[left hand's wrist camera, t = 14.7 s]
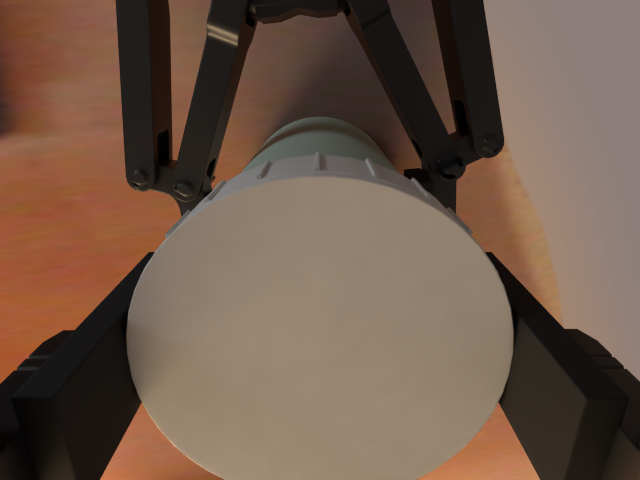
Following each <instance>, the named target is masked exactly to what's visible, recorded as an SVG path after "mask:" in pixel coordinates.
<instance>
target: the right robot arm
mask: <svg viewBox="0 0 640 480" xmlns="http://www.w3.org/2000/svg"><path fill="white" fill-rule="evenodd" d="M431 1H432V6H433V11H434V17H435V22H436V27H437V33H438V38H439V43H440V48H441V54H442V59H443V64H444V69H445V75H446V80H447V85H448V90H449V96H450V101H451V106H452V112H453V117H454V122H455V127H456V132H454V133H451V134H448V132H447V130H446V128H445V126H444V124H443V122H442V120H441V118H440V115H439V113H438V111H437V109H436V107H435V105H434V103H433V101H432V99H431V97H430V95H429V93H428V91H427V88H426V86H425V84H424V82H423V80H422V78H421V76H420V74H419V72H418V70H417V68H416V66H415V63H414V61H413V59H412V57H411V55H410V53H409V51H408V49H407V47H406V45H405V43H404V41H403V38H402V36H401V34H400V32H399V30H398V28H397V26H396V24H395V22H394V20H393V18H392V15H391V12H390V8H389V4H388V2H387V0H212V2H211V6H210V10H209V15H208V20H207V38H206V42H205V47H204V51H203V55H202V59H201V63H200V67H199V72H198V76H197V80H196V84H195V88H194V93H193V97H192V101H191V105H190V109H189V113H188V118H187V122H186V126H185V130H184V134H183V139H182V143H181V147H180V151H179V155H178V159H177V161H176V160H173V158H172V104H171V50H170V13H169V4H168V0H116V13H117V30H118V47H119V64H120V81H121V99H122V116H123V133H124V150H125V167H126V178H127V182H128V183H129V185H130V186H131V187H132V188H133V189H135V190H137V191H141V192H142V191H147V190H153V191H157V192H161V193H165V194H168V195H170V196H171V197H173V198H174V199H175V200H176V202H177V203H178V205H179V208H180V212H181V216H183V215H184V214H185V213H186V212H187V211H188V210H189V211H190V212H192V210H193V209H194V208H195V207H196V206H197V205H198V204H199V203H200V202H201V201H202V200H203V199H204V198H205V197H207V196H208V195H209V194H210V193H211V192H212V191H213V190H212V187H211V183H212V182H213V181H214V179H215V176H213V175H214V172H215V168H216V164H217V161H218V157H219V153H220V150H221V146H222V142H223V139H224V135H225V131H226V128H227V124H228V120H229V117H230V113H231V109H232V106H233V102H234V98H235V95H236V91H237V87H238V84H239V80H240V76H241V73H242V69H243V65H244V62H245V58H246V54H247V51H248V48H249V46H250V44H251V42H252V39H253V36H254V32H255V28H256V25H257V21H260V22H262V23H263V24H268V23H277V22H282V21H285V20H287V19H289V18H292V17H294V16H297V15H306V16H311V17H316V18H322V17H331V16H337V13H339V12H342V11H343V13H344V15H345V17H346V19H347V21H348V23H349V25H350V27H351V28H352V30H353V32H354V33H355V35H356V36H357V38H358V40H359V41H360V43H361V45H362V47H363V49H364V51H365V53H366V55H367V57H368V59H369V61H370V63H371V65H372V67H373V69H374V71H375V72H376V74H377V76H378V78H379V80H380V82H381V84H382V86H383V88H384V90H385V92H386V94H387V96H388V98H389V100H390V102H391V104H392V106H393V107H394V109H395V111H396V113H397V115H398V117H399V119H400V121H401V123H402V125H403V127H404V129H405V131H406V133H407V135H408V137H409V139H410V141H411V142H412V144H413V146H414V148H415V150H416V152H417V154H418V156H419V158H420V160H421V161H422V170H421V169H420V168H416V169H406V170H404V176H405V177H406V178H408V179H410V180H411V179H412V177H413V178H415V179H416V180H417V181H418V182H419V183H420V185H421V186H422V187H423V188H424V189H425V190H426V191H427V192H429V193H430V194H431V195H432V196H434V197H435V198H436V199H437V200H438V201H439V202H440V203H441V204H442V205H443V206H444V207H445V208H446V209H447V208H448V207H450V208H451V209H452V211H453V212H454V213H455V214H456V181H457V179H459V178H460V177H461V176H462V175H463V173H464V172H465V168H466V165H468V164H470V163H472V162H474V161H476V160H479V159H481V158H483V157H484V158H492V157H494V156H496V155H497V154H498V153H499V152H500V151H501V150H502V148H503V146H504V135H503V129H502V122H501V115H500V109H499V102H498V96H497V89H496V82H495V76H494V69H493V63H492V56H491V49H490V43H489V36H488V30H487V23H486V17H485V10H484V3H483V0H431Z"/></svg>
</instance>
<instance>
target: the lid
mask: <svg viewBox="0 0 640 480" xmlns="http://www.w3.org/2000/svg"><path fill="white" fill-rule="evenodd" d="M471 233H472V230H471V229H470V228H469V227H468V226H467V225H466V224H465V223H464V222H463V221H462V220H461V219H460V218H459V217H458V216H457V215H456V214H455V213H454V212H453V211H452V209H451V208H450V207H448V208H447V209H446V208H445V207H444V206H443V205H442V204H441V203H440V202H439V201H438V200H437V199H436V198H435V197H434V196H432V195H431V194H430V193H429V192H427V191H426V190H425V189H424V188H423V187H422V186H421V185H420V183H419V182H418V181H417V180H416V179H415V178H413V177H412V179H411V180H410V179H408V178H406V177H405V176H403V175H401V174H400V173H397V172H395V171H393V170H390V169H388V168H385V167H383V166H380V165H378V164H375V163H372V161H371V160H370V159H368V158H366V161H363V160H359V159H355V158H348V157H340V156H332V155H320V152H316V153H315V155H307V156H299V157H292V158H285V159H280V160H277V161H273V162H270V161H269V160H265V162H264V163H263V164H262V165H259V166H257V167H255V168H252V169H250V170H248V171H245V172H243V173H241V174H238V175H237V176H235V177H233V178H232V179H230V180H228V181H227V182H225V180H222V181H221V182H220V183H219V184H218V185H217V186H216V187H215V188H214V189H213V191H212V192H211V193H210V194H209V195H208V196H207V197H205V198H204V199H203V200H202V201H201V202H200V203H199V204H198V205H197V206H196V207H195V208H194V209H193V210H192V212H190V211H189V210H188V211H187V212H186V213H185V214H184V215H183V216H182V217H181V218H180V219H179V220H178V221H177V222H176V223H175V224H174V225H173V226H172V228H171V229H170V230H169V231H168V232H167V233H166V234H165V235H164V236H165V237H166V238H167V239H166V240H165V241H164V242H163V243H162V244H161V245H160V246H159V247H158V249H157V250H156V252H155V253H154V255H153V256H152V258H151V259H150V261H149V262H148V264H147V265H146V267H145V268H144V270H143V272H142V274H141V276H140V279H139V281H138V283H137V285H136V288H135V290H134V294H133V297H132V301H131V304H130V308H129V312H128V321H127V330H126V343H127V355H128V360H129V365H130V370H131V375H132V379H133V382H134V385H135V387H136V390H137V393H138V396H139V398H140V399H141V401H142V403H143V405H144V407H145V409H146V411H147V412H148V414H149V416H150V417H151V418H152V420H153V421H154V423H155V424H156V425H157V427H158V428H159V429H160V431H161V432H162V433H163V434H164V435H165V436H166V437H167V438H168V439H169V440H170V442H171V443H172V444H173V445H174V446H175V447H176V448H178V449H179V450H180V451H181V452H182V453H184V454H185V455H186V456H187V457H188V458H189V459H191V460H192V461H194V462H195V463H197V464H198V465H200V466H201V467H203V468H204V469H206V470H207V471H209V472H211V473H212V474H214V475H216V476H218V477H220V478H222V479H224V480H416V479H418V478H420V477H422V476H424V475H426V474H427V473H429V472H431V471H433V470H435V469H436V468H438V467H439V466H440V465H442V464H443V463H445V462H446V461H448V460H449V459H451V458H452V457H453V456H454V455H455V454H457V453H458V452H459V451H460V450H461V449H462V448H463V447H465V446H466V445H467V444H468V443H469V442H470V441H471V440H472V438H473V437H474V436H475V435H476V434H477V433H478V432H479V431H480V430H481V428H482V427H483V426H484V424H485V423H486V421H487V420H488V418H489V417H490V415H491V414H492V413H493V411H494V409H495V407H496V405H497V403H498V401H499V399H500V397H501V395H502V393H503V391H504V388H505V385H506V382H507V379H508V376H509V372H510V366H511V361H512V356H513V344H514V328H513V320H512V313H511V307H510V304H509V300H508V297H507V294H506V291H505V287H504V285H503V283H502V281H501V279H500V277H499V275H498V274H499V273H498V271H497V270H496V269H495V266H494V265H493V263H492V262H491V260H490V259H489V258H488V256H487V255H486V253H485V252H484V250H483V249H482V248H481V246H480V245H479V244H478V243H477V242H476V241H475V239H474V238H473V237H472V236H471V235H470V234H471Z"/></svg>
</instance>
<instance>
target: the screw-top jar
mask: <svg viewBox="0 0 640 480" xmlns="http://www.w3.org/2000/svg"><path fill="white" fill-rule="evenodd" d="M316 152H320V155H332V156H340V157H348V158H355V159H359V160H363V161H366V158H368V159H370V160H371V161H372V163H375V164H378V165H380V166H383V167H385V168H388V169H390V170H393V171H395V172H397V173H398V171H397V170H396V169H395V167H394V166H393V165H392V164H391V162H390V161H389V160H388V159H387V157H386V156H385V155H384V153H383V152H382V151H381V150H380V148H379V147H378V146H377V145H376V143H375V142H374V141H373V140H372V139H371V138H370V137H369V136H368V135H367V134H366V133H365V132H363V131H362V130H361V129H359V128H358V127H356V126H354V125H353V124H351V123H348V122H346V121H343V120H340V119H336V118H331V117H309V118H304V119H300V120H297V121H294V122H292V123H289V124H287V125H285V126H284V127H282V128H281V129H279V130H278V131H276V132H275V133H274V134H273V135H272V136H271V137H270V138H269V139H268V140H267V141H266V142H265V143H264V144H263V146H262V147H261V148H260V149H259V151H258V152H257V153H256V155H255V156H254V157H253V158H252V160H251V161H250V162H249V163H248V165H247V166H246V167H245V169H244V170H243V171H242V172H241V173H243V172H245V171H248V170H250V169H252V168H255V167H257V166H259V165H262V164H263V163H264V162H265V160H269V161H270V162H273V161H277V160H280V159H285V158H292V157H299V156H307V155H315V153H316Z"/></svg>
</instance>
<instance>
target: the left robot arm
mask: <svg viewBox="0 0 640 480" xmlns="http://www.w3.org/2000/svg"><path fill="white" fill-rule="evenodd" d="M154 253H155V252H149V253H148V254H147V255H146V256H145V257H144V258H143V259H142V260H141V261H140V262H139V263H138V264H137V265H136V266H135V267H134V268H133V270H132V271H131V272H130V273H129V274H128V275H127V276H126V277H125V278H124V279H123V280H122V281H121V282H120V283H119V284H118V285H117V286H116V287H115V288H114V289H113V291H112V292H111V293H110V294H109V295H108V296H107V297H106V298H105V299H104V300H103V301H102V302H101V303H100V304H99V305H98V306H97V307H96V308H95V309H94V310H93V312H92V313H91V314H90V315H89V316H88V317H87V318H86V319H85V320H84V321H83V322H82V323H81V324H80V325H79V326H78V327H77V328H76V329H75V330H63V331H62V332H60V333H58V334H56V335H55V336H53V337H51V338H50V339H48V340H46V341H44V342H43V343H42V344H41V345H40V346H39V347H38V348H37V349H36V350H35V351H34V352H33V353H32V354H31V355H30V356H29V359H25V360H24V361H23V362H22V363H21V364H20V365H19V366H18V367H17V371H13V372H12V373H11V374H10V375H9V376H8V377H7V378H6V379H5V380H4V381H3V382H2V383H1V384H0V480H100V478H101V477H102V475H103V473H104V471H105V469H106V467H107V465H108V464H109V462H110V460H111V458H112V456H113V454H114V453H115V451H116V449H117V447H118V445H119V443H120V441H121V440H122V438H123V436H124V434H125V432H126V430H127V428H128V427H129V425H130V423H131V421H132V419H133V417H134V416H135V414H136V412H137V410H138V408H139V406H140V404H141V403H142V401H141V399H140V398H139V396H138V393H137V390H136V387H135V385H134V382H133V379H132V375H131V370H130V365H129V360H128V355H127V343H126V330H127V321H128V312H129V308H130V304H131V301H132V297H133V294H134V290H135V288H136V285H137V283H138V281H139V279H140V276H141V274H142V272H143V270H144V268H145V267H146V265H147V264H148V262H149V261H150V259H151V258H152V256H153V255H154ZM485 253H486V255H487V256H488V258H489V259H490V260H491V262H492V263H493V265H494V266H495V269H496V270H497V271H498V273H499V274H498V275H499V277H500V279H501V281H502V283H503V285H504V287H505V291H506V294H507V297H508V300H509V304H510V307H511V313H512V320H513V328H514V344H513V356H512V361H511V366H510V372H509V376H508V379H507V382H506V385H505V388H504V391H503V393H502V395H501V397H500V399H499V401H498V402H499V404H500V406H501V408H502V410H503V411H504V413H505V415H506V417H507V419H508V421H509V422H510V424H511V426H512V428H513V430H514V432H515V434H516V435H517V437H518V439H519V441H520V443H521V445H522V446H523V448H524V450H525V452H526V454H527V456H528V458H529V459H530V461H531V463H532V465H533V467H534V469H535V471H536V472H537V474H538V476H539V478H540V480H640V381H638V380H637V379H636V378H635V377H634V376H633V375H632V374H631V373H630V372H629V371H628V370H627V369H624V366H623V365H622V364H621V363H620V362H619V361H618V360H617V359H616V358H615V357H612V355H611V353H610V352H609V351H607V350H606V349H605V348H604V347H603V346H602V345H601V344H600V343H599V342H598V341H597V340H595V339H593V338H592V337H590V336H588V335H587V334H585V333H583V332H581V331H580V330H578V329H564V328H563V327H562V326H561V325H560V324H559V323H558V322H557V321H556V320H555V319H554V318H553V317H552V315H551V314H550V313H549V312H548V311H547V310H546V309H545V308H544V307H543V306H542V305H541V304H540V303H539V302H538V301H537V300H536V299H535V298H534V297H533V296H532V294H531V293H530V292H529V291H528V290H527V289H526V288H525V287H524V286H523V285H522V284H521V283H520V282H519V281H518V280H517V279H516V278H515V277H514V276H513V275H512V273H511V272H510V271H509V270H508V269H507V268H506V267H505V266H504V265H503V264H502V263H501V262H500V261H499V260H498V259H497V258H496V257H495V256H494V255H493V254H492V252H485Z"/></svg>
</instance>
